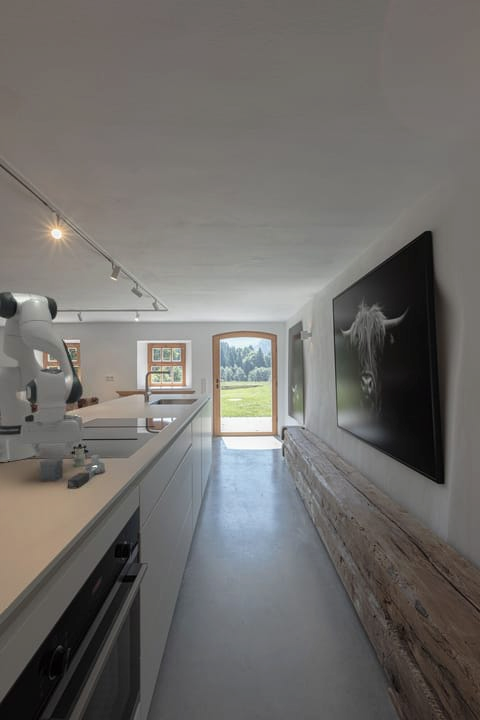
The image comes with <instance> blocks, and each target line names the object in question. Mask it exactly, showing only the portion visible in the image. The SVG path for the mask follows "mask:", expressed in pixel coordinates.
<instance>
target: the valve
mask: <svg viewBox="0 0 480 720" xmlns="http://www.w3.org/2000/svg"><path fill="white" fill-rule="evenodd" d="M86 448H87V445H85V444H84V445H83V446H82V443H78V445H77V446H72V449H73V450H72V451H71V453H70V454H71V455H73V461H74V467H75V468H76V467H77V468H78V467H84V466H85V460H86V458H87V454H88V453H89V449H86ZM86 453H87V454H86Z"/></svg>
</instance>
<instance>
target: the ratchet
mask: <svg viewBox="0 0 480 720" xmlns="http://www.w3.org/2000/svg"><path fill="white" fill-rule="evenodd" d="M105 466H106V465H105V463H104V462H100V454H93V455H91V456H90V463H86V464H85V470H84V471H82V472H78V473H77V474H75V475H73V476H72V477H71V478H68V480H67V489H79V488H81V487H82V486H84V484H86V483H88V482H89V481H90V479H92V478H93V477H95V476H96V475H101V474H103V473H105V470H106V469H105Z"/></svg>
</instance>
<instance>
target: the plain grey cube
mask: <svg viewBox="0 0 480 720" xmlns="http://www.w3.org/2000/svg"><path fill="white" fill-rule="evenodd" d="M63 459H64V458H62V457H60V458H58V457H57V458H55V457H54V458H47V459H44V460H42V461H40V464H39V465H40V466H39V469H40V470H39V471H40V474H39V477H40V482H56V481H58V480H59V479H61V478H63V477H64V476H63V475H64V473H63V471H64V469H63V468H64V467H63V466H64V463H63V462H64V460H63Z"/></svg>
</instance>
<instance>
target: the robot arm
mask: <svg viewBox="0 0 480 720" xmlns="http://www.w3.org/2000/svg"><path fill="white" fill-rule="evenodd" d="M57 315H58V303H57V302H56V301H55V299H54V298H52V297H49V296H42V295H39V294H34V293H21V292H10V291H2V292H0V318H2V319H6V320H5V325H4V329H3V330H4V331H3V342H2V343H3V345H2V350H3V353H4V354H5V355H6V357H9V358H11V359H13V360H15V361H17V366H0V462H4V463H8V461H9V462H12V461H20V460H25V459H29V458H32V457H34V456H35V458H36V457H37V458H38V457H42V456H43V450H41V449H40V447H39V446H40V444H65V447H66V448H65V449H64V450H62V456H63V457H68V456H69V455H70V451H71V449H72V448H73V444H75V443H80V442H81V441H82V440H83V439H84V431H83V418H82V417H81V416H79V415H77V414H73V415H72V414H67V405H74V404H75V403H77V402H78V401H79V400H80V399H81V398H82V396H83V386H82V383H81V381H80V378H79V377H78V374H77V372H76V369H75V366H74V363H73V360H72V357H71V354H70V351H69V348H68V346H67V344H66V342H65V340H64V339H62V338H61V337H59V335H57V332H56V330H55V329H54V324H53V323H54V321H53V320H55V319H56V317H57ZM35 351H38V352H40V353H41V352H42V353H44V354H46V355H49V356H52V357H53V358H54V359H56V361H57V363H58V366H59V368H44V367H43V366H42V365H41V364H40V363H39V362H38V360H37V358H36V355H35ZM17 392H24V393H25V392H26V393H25V398H26V399H25V400H26V401H25V400H23V399H20V398H18V396H17ZM30 404H31V405H33V406H37V407H36V410H37V411H35V412H32V406H31V405H30Z"/></svg>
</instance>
